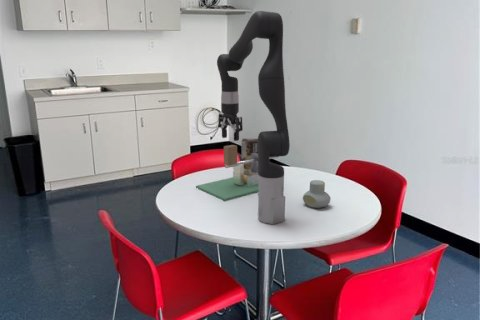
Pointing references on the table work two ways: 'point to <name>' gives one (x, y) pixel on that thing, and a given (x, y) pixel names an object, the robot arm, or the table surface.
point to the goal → (251, 178)
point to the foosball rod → (236, 163)
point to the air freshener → (316, 195)
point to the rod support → (254, 163)
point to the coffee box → (248, 150)
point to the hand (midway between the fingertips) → (230, 139)
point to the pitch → (227, 189)
